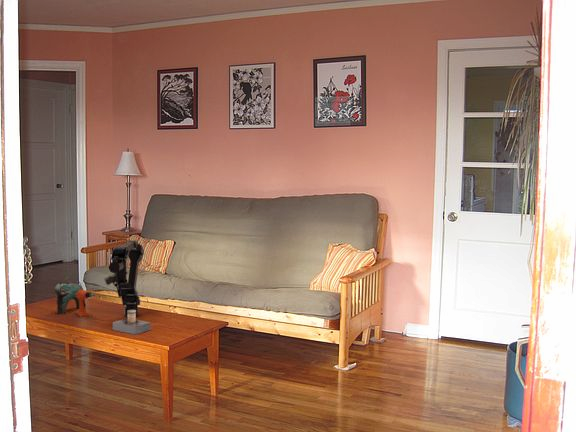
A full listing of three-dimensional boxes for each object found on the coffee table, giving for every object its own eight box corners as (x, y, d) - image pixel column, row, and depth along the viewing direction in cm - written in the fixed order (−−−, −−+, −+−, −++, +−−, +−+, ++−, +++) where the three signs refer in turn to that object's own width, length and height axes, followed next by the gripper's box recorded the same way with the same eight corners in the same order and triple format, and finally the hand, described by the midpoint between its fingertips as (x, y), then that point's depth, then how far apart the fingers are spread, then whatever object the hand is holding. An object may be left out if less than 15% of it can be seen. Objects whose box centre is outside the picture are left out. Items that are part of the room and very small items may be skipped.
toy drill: (92, 318, 327) (90, 290, 327) (75, 316, 340) (73, 289, 340) (100, 316, 331) (98, 289, 331) (83, 314, 343) (81, 288, 343)
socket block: (127, 325, 318) (127, 318, 318) (150, 330, 310) (150, 322, 310) (112, 329, 309) (112, 322, 309) (135, 334, 301) (135, 326, 301)
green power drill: (61, 315, 339) (60, 279, 337) (52, 313, 342) (51, 278, 340) (86, 307, 357) (86, 274, 355) (78, 306, 360) (77, 273, 358)
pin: (137, 329, 312) (137, 309, 311) (134, 331, 307) (134, 311, 307) (129, 328, 312) (129, 309, 311) (126, 330, 308) (126, 311, 307)
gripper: (102, 268, 326) (102, 296, 327) (108, 273, 309) (108, 303, 311) (123, 266, 331) (123, 295, 332) (130, 272, 314) (130, 301, 316)
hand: (121, 298), depth 323 cm, fingers open, 9 cm apart
